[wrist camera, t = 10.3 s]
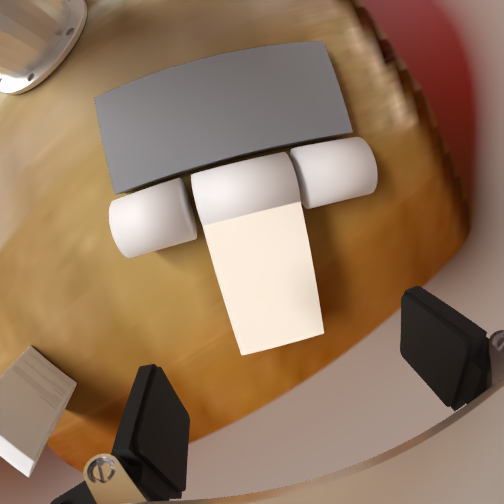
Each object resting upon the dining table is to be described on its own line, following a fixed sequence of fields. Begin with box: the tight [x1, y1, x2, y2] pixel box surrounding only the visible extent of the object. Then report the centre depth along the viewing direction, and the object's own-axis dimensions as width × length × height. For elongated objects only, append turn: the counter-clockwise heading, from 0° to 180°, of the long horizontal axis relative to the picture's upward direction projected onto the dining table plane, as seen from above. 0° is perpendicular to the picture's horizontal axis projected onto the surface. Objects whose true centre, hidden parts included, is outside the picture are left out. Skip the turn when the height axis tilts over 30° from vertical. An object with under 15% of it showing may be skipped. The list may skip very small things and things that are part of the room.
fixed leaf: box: [95, 41, 378, 258], centre depth 18 cm, size 13×18×4 cm
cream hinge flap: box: [191, 152, 324, 355], centre depth 20 cm, size 13×6×4 cm, turn 14°
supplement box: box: [0, 346, 77, 477], centre depth 18 cm, size 7×7×13 cm
